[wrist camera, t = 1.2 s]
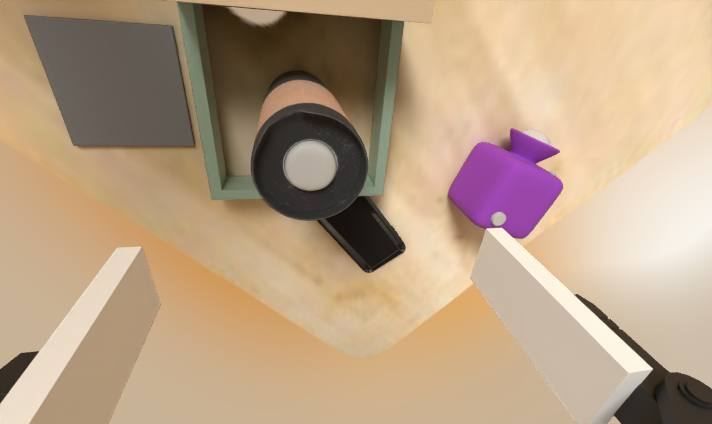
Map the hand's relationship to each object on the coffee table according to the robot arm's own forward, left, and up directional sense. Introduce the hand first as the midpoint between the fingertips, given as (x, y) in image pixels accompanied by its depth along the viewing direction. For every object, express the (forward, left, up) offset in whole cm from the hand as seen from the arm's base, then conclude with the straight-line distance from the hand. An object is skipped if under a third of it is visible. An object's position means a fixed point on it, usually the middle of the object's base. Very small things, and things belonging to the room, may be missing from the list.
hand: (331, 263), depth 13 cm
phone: (+18, +9, -30) cm, 36 cm away
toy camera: (+8, +27, -29) cm, 41 cm away
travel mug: (0, 0, -29) cm, 29 cm away
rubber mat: (-1, -18, -29) cm, 34 cm away
